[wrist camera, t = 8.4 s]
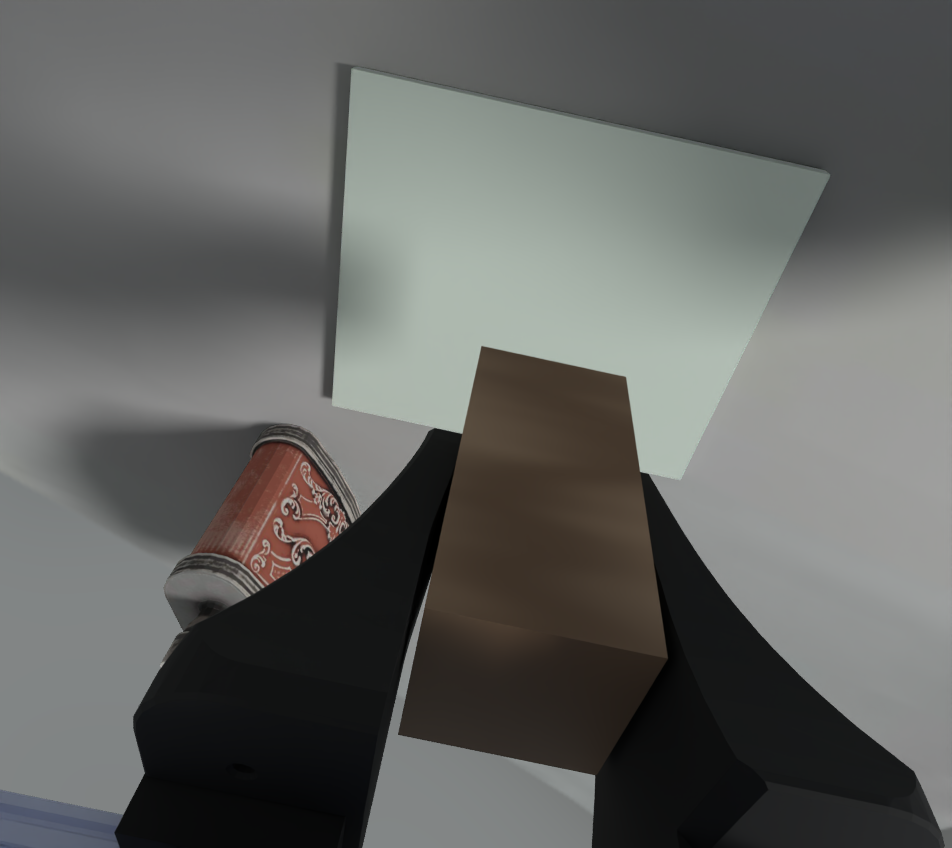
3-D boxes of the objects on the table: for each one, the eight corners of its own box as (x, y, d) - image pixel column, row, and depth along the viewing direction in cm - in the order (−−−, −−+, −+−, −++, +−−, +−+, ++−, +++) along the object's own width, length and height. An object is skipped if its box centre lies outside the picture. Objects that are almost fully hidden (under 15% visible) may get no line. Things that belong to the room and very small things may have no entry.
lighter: (239, 430, 25) (87, 649, 17) (318, 418, 25) (196, 641, 16) (317, 570, 30) (225, 797, 22) (386, 563, 29) (316, 797, 21)
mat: (825, 170, 18) (830, 175, 17) (678, 471, 24) (680, 480, 24) (356, 66, 17) (351, 68, 17) (335, 398, 24) (332, 405, 23)
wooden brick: (626, 376, 14) (667, 658, 8) (585, 485, 16) (597, 775, 10) (481, 346, 14) (424, 607, 8) (457, 457, 16) (398, 734, 10)
